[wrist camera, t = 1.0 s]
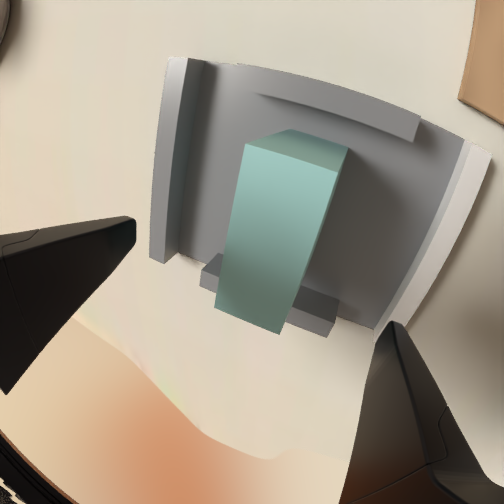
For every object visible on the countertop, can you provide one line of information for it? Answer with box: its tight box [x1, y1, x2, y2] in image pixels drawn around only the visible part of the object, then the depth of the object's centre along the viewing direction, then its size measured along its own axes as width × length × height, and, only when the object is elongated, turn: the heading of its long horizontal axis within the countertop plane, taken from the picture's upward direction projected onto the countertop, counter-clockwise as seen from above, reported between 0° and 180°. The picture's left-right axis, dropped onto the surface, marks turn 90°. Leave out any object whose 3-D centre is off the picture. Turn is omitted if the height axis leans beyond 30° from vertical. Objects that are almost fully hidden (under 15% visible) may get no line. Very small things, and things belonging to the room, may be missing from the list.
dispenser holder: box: [149, 57, 492, 343], centre depth 15 cm, size 16×12×2 cm
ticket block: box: [214, 129, 349, 335], centre depth 13 cm, size 3×7×6 cm, turn 167°
